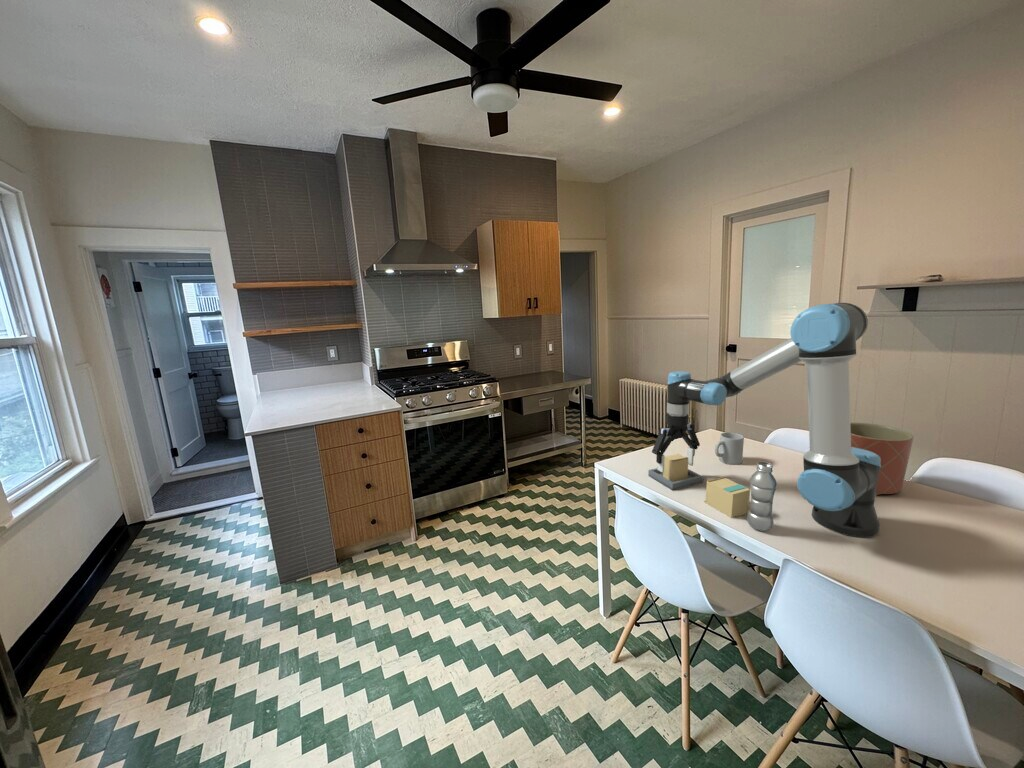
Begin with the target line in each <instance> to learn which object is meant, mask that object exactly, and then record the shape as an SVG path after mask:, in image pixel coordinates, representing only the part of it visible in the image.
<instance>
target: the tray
mask: <svg viewBox="0 0 1024 768" xmlns="http://www.w3.org/2000/svg"><path fill="white" fill-rule="evenodd" d="M647 477H649V478H651V479H653V480H654V481H656V482H658V483H659V484H661V485H662V486H664V487H666V488H667V489H670V490H671V491H675V490H681V489H683V488H687V487H692V486H695V485H696V486H697V485H699V484H700V485H701V484H703V483H704V476H703V475H701V474H699V473H697V472H695V471H694V470H691V469H689V468H688V477H687V479H682V480H678V481H674V482H672V481H670V480H668V479H666V478H665V477H663V473H662V472H661V471H659V470H657V467H656V468H652V469H651V468H650V469H648V476H647Z"/></svg>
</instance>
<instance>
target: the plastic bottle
mask: <svg viewBox="0 0 1024 768" xmlns="http://www.w3.org/2000/svg"><path fill="white" fill-rule="evenodd" d="M773 471H774V470H773V464H772V463H770V462H767V461H759V462H757V466H756V471H755V472H753V474H752V475H751V476H750V479H749V483H750V484H749V485H750V502H749V508H748V513H747V514H746V515H747V516H746V518H747V523H748V525H749V526H750V527H752V528H753V529H754V530H756V531H757V530H758V531H762V532H767V531H770V530H771V529H773V527H774V516H773V515H774V514H773V504H774V503H773V502H774V496H775V493H776V489H777V485H778V484H777V480H776V477H774V475H773V473H772V472H773Z"/></svg>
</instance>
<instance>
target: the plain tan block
mask: <svg viewBox="0 0 1024 768" xmlns="http://www.w3.org/2000/svg"><path fill="white" fill-rule="evenodd" d="M688 469H689V464H688V457H687V456H684V455H682V454H679V453H675V454H671V455H667V456H665V460H664V472H663V477H665V478H666V479H668V480H670V481H672V482H674V481H678V480H682V479H687V477H688Z"/></svg>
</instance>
